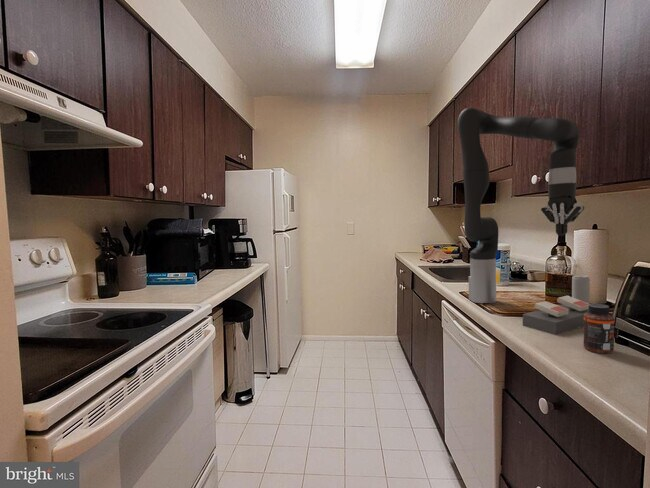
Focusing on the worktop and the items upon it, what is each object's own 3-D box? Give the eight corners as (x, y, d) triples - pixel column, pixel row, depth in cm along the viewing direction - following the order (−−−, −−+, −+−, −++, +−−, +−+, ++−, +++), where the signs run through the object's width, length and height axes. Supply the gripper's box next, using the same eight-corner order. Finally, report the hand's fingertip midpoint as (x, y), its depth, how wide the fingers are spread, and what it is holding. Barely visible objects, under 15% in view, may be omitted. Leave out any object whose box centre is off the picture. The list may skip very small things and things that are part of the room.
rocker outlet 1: (534, 307, 105) (535, 303, 105) (544, 305, 107) (545, 300, 107) (557, 316, 99) (558, 312, 98) (568, 314, 101) (569, 309, 100)
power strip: (522, 325, 105) (522, 311, 105) (566, 313, 114) (566, 300, 114) (555, 334, 96) (555, 319, 96) (600, 321, 105) (600, 307, 105)
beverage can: (573, 311, 116) (573, 277, 115) (570, 308, 120) (570, 274, 119) (590, 312, 113) (591, 277, 112) (587, 309, 118) (587, 274, 117)
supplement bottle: (616, 356, 81) (616, 309, 80) (584, 352, 84) (585, 307, 83) (611, 347, 86) (612, 303, 85) (582, 343, 89) (582, 301, 88)
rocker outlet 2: (556, 301, 109) (557, 297, 109) (566, 299, 111) (567, 295, 111) (580, 311, 103) (581, 306, 103) (589, 308, 105) (590, 304, 105)
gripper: (534, 184, 116) (534, 235, 117) (576, 180, 104) (575, 236, 105) (549, 184, 119) (548, 233, 120) (591, 180, 107) (590, 235, 108)
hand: (561, 235), depth 113 cm, fingers closed
